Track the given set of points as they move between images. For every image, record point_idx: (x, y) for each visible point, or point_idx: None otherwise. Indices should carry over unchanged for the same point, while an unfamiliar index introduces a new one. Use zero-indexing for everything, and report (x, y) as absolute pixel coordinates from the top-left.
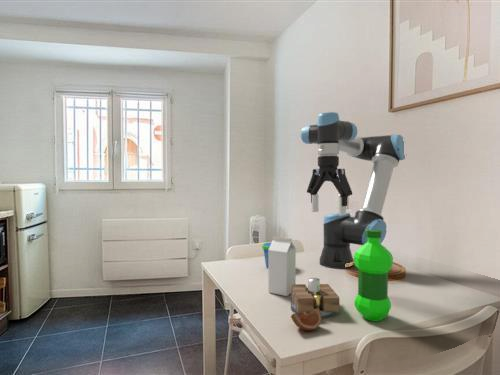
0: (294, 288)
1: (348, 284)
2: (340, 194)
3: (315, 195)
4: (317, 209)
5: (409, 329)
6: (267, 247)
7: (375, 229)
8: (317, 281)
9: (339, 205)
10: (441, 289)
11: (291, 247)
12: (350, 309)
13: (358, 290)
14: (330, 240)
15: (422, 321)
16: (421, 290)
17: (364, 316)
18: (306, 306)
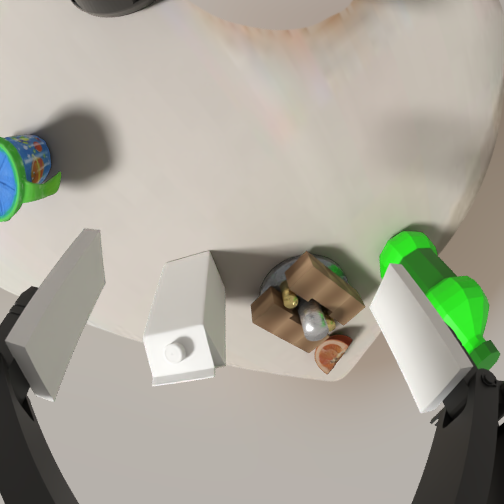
0: (273, 331)
1: (280, 107)
2: (440, 426)
3: (44, 376)
4: (94, 251)
5: (444, 247)
6: (7, 220)
7: (492, 353)
8: (327, 332)
9: (399, 359)
10: (448, 12)
11: (195, 335)
12: (358, 248)
13: None
14: None
15: (456, 207)
16: (428, 39)
17: None
18: None
